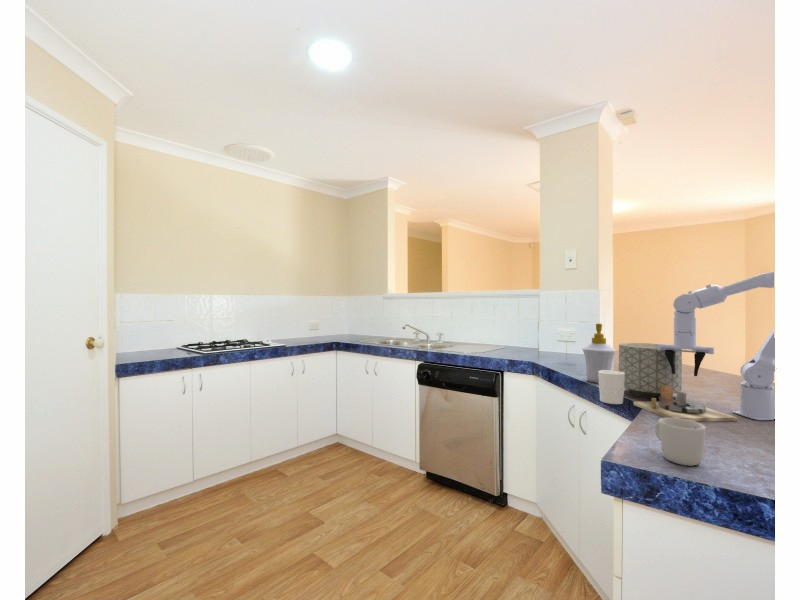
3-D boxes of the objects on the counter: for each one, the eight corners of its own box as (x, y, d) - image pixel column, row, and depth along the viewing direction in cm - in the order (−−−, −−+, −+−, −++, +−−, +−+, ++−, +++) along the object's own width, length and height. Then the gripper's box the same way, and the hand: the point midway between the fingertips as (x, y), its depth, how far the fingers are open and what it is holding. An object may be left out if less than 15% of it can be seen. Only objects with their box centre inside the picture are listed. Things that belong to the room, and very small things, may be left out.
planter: (639, 388, 152) (639, 342, 152) (693, 399, 134) (693, 347, 135) (607, 392, 143) (607, 343, 144) (660, 405, 126) (660, 349, 126)
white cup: (628, 405, 125) (628, 374, 125) (602, 404, 127) (602, 373, 127) (619, 399, 133) (620, 370, 133) (595, 398, 134) (595, 369, 135)
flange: (714, 413, 111) (714, 396, 111) (672, 412, 113) (672, 394, 113) (682, 400, 126) (682, 385, 126) (645, 399, 128) (645, 384, 128)
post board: (686, 404, 127) (686, 386, 127) (736, 421, 109) (736, 399, 109) (633, 404, 126) (633, 386, 126) (675, 421, 108) (675, 400, 108)
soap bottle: (616, 381, 166) (616, 323, 166) (614, 386, 155) (614, 324, 155) (584, 377, 172) (584, 322, 173) (580, 382, 162) (580, 323, 162)
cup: (640, 449, 87) (640, 413, 87) (673, 448, 88) (673, 413, 88) (678, 470, 76) (678, 429, 76) (716, 468, 77) (716, 428, 77)
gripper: (714, 332, 122) (714, 375, 122) (659, 330, 132) (659, 370, 132) (713, 334, 117) (713, 379, 117) (656, 331, 126) (656, 373, 126)
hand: (684, 374), depth 124 cm, fingers open, 5 cm apart
